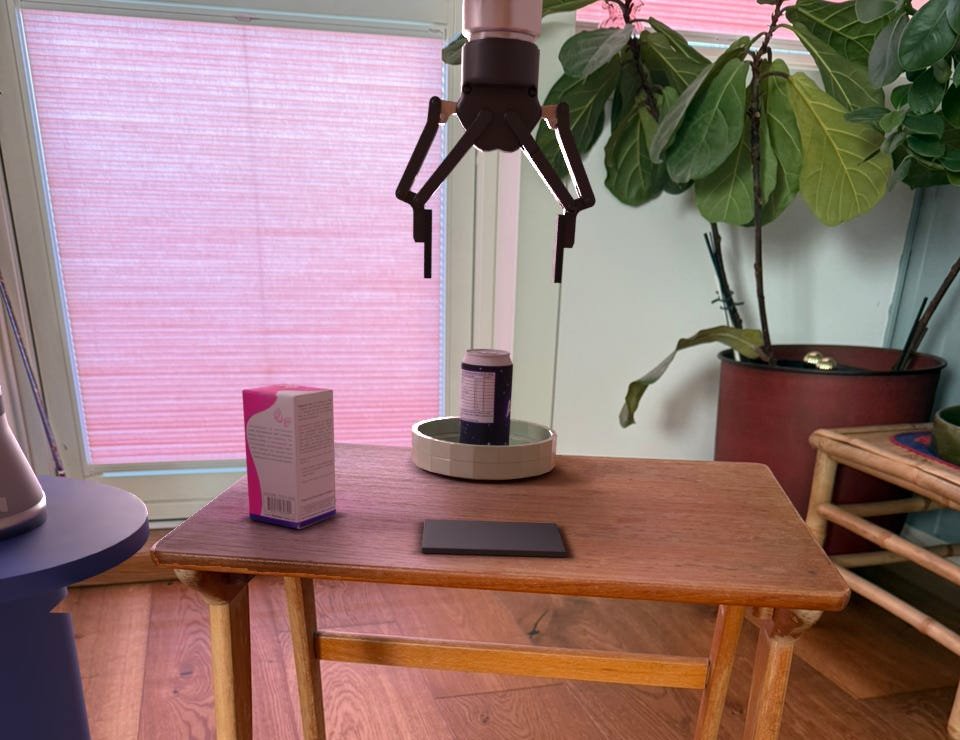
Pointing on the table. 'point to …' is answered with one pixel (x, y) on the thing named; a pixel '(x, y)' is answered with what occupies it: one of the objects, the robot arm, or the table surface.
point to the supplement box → (290, 454)
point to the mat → (492, 538)
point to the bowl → (483, 451)
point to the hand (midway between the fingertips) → (492, 280)
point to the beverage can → (485, 397)
